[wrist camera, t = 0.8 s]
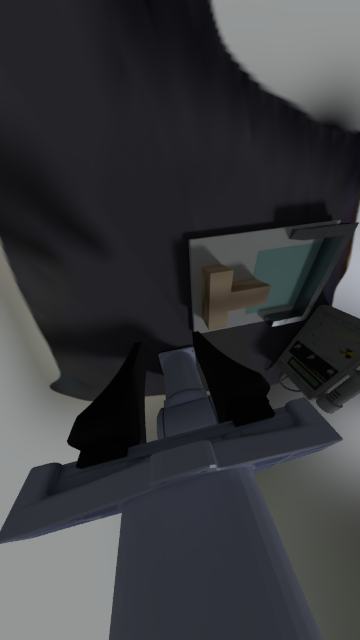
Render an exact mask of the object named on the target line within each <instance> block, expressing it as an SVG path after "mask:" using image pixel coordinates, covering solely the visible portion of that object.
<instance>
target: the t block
mask: <svg viewBox="0 0 360 640" xmlns="http://www.w3.org/2000/svg"><path fill="white" fill-rule="evenodd" d="M233 272H234V270H233V269H231V268H229V267H227V266H225V265H223V264H218V265H212V266H205V267H202V319H203V321H204V323H205V325H206V327H207V328H208V330H213V329H218V328H223V327H226V325H227V318H228V311H232V310H238V309H243V308H249V307H254V306H260V305H265V304H266V301H267V298H268V294H269V291H270V288H271V285H269V284H267V283H264V282H262V281H260V280H258V279H256V278H254V279H248V280H242V281H235V282H232V279H233Z"/></svg>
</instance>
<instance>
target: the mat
mask: <svg viewBox="0 0 360 640" xmlns="http://www.w3.org/2000/svg"><path fill="white" fill-rule="evenodd" d="M340 221H341V220H338V221H327V222H320V223H312V224H304V225H297V226H289V227H281V228H274V229H266V230H258V231H251V232H243V233H235V234H228V235H220V236H212V237H205V238H197V239H189V240H188V241H189V260H190V279H191V298H192V317H193V332H195V331H199V332H200V333H204V332H209V331H215V330H220V329H225V328H230V327H235V326H240V325H245V324H250V323H255V322H260V321H264V320H263V319H264V316H265V315H267V314H272V313H277V312H283V311H288V310H292V308H293V306H294V304H295V302H296V300H297V298H298V296H299V293H300V291H301V289H302V287H303V284H304V282H305V280H306V278H307V276H308V273H309V271H310V269H311V267H312V264H313V262H314V260H315V258H316V256H317V253H318V251H319V249H320V247H321V244H322V242H323V240H324V238H319V239H312V240H291V239H289V238H290V235H291V232H292V229H298V228H306V227H313V226H321V225H328V224H336V223H340ZM218 264H223V265H225V266H227V267H229V268H231V269H233V270H234V272H233V279H232V282H235V281H242V280H248V279H254V278H256V279H258V280H260V281H262V282H264V283H267V284H269V285H271V288H270V291H269V294H268V298H267V301H266V304H265V305H260V306H254V307H249V308H243V309H238V310H232V311H228V318H227V325H226V327H223V328H218V329H213V330H208V328H207V327H206V325H205V323H204V321H203V319H202V267H205V266H212V265H218Z"/></svg>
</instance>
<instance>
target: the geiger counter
mask: <svg viewBox="0 0 360 640" xmlns="http://www.w3.org/2000/svg"><path fill="white" fill-rule="evenodd" d="M275 364H276V365H277V366H278V367H279V368H280V369H281V370H282V372H281V373H280V375H279V382H280V384H281V385H282V386H283V387H284V388H285V389H288V390H291V391H294V392H302V393H303V394H304V395H305V396H306V397H307V398H308V399H309V400H316V403H317V405H318V406H319V407H320V408H321V409H322V410H323V411H325V412H327V413H331V414H332V413H334V412H335V411H337V410H338V409H340V408H342V406H343V405H342V404H343V403H345V402H347V401H348V400H350V399H351V398H353V397H355V396H356V395H357V394H359V393H360V370H359V369H360V319H359V318H357V317H355V316H352V315H350V314H347V313H345V312H343V311H341V310H338V309H336V308H334V307H331V306H329V305H319V306H318V308H317V309H316V310H315V312H314V313H313V314H312V316H311V317H310V318H309V320H308V321H307V322H306V323H305V325H304V326H303V327H302V329H301V330H300V331H299V333H298V334H297V335H296V336H295V338H294V339H293V340H292V342H291V343H290V344H289V346H288V347H287V348H286V350H285V351H284V352H283V353H282V355H281V356H280V357H279V359H278V360H277V361H276V363H275ZM285 376H287V377H288V378H289V379H290V380H291V381H292V382H293V383H294V384H295V385H296V386H297V387H298V389H299V390H292V389H289V388H287V387H285V386H284V385H283V384H282V382H281V379H283V378H284V377H285ZM348 377H349V378H348ZM347 378H348V379H347ZM345 379H347V380H345ZM344 380H345V381H344ZM343 381H344V382H343ZM341 382H343V383H342V384H340V383H341ZM339 384H340V385H339ZM337 385H339V386H337ZM336 386H337V387H336ZM335 387H336V388H335ZM333 388H335V389H333ZM332 389H333V391H331V390H332ZM329 391H331V392H330V393H328V392H329Z"/></svg>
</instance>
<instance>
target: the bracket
mask: <svg viewBox="0 0 360 640" xmlns="http://www.w3.org/2000/svg"><path fill="white" fill-rule="evenodd" d="M358 224H359V223H336V224H328V225H321V226H313V227H306V228H298V229H292V232H291V235H290V238H289V239H291V240H312V239H319V238H324V240H323V242H322V244H321V247H320V249H319V251H318V253H317V256H316V258H315V260H314V262H313V264H312V267H311V269H310V271H309V273H308V276H307V278H306V280H305V282H304V284H303V287H302V289H301V291H300V293H299V296H298V298H297V300H296V302H295V304H294V306H293V308H292V310H288V311H283V312H277V313H272V314H267V315H265V316H264V319H263V320H264V321H265V322H267V323H268V324H269V325H270V326H271V327H273V326H278V325H283V324H288V323H293V322H298V321H303V320H306V319H307V317H308V315H309V313H310V311H311V309H312V308H313V306H314V304H315V302H316V300H317V298H318V297H319V295H320V293H321V291H322V289H323V287H324V286H325V284H326V282H327V280H328V278H329V277H330V275H331V273H332V271H333V269H334V267H335V266H336V264H337V262H338V260H339V258H340V256H341V255H342V253H343V251H344V249H345V247H346V245H347V244H348V242H349V240H350V238H351V236H352V234H353V233H354V231H355V229H356V227H357V225H358Z"/></svg>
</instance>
